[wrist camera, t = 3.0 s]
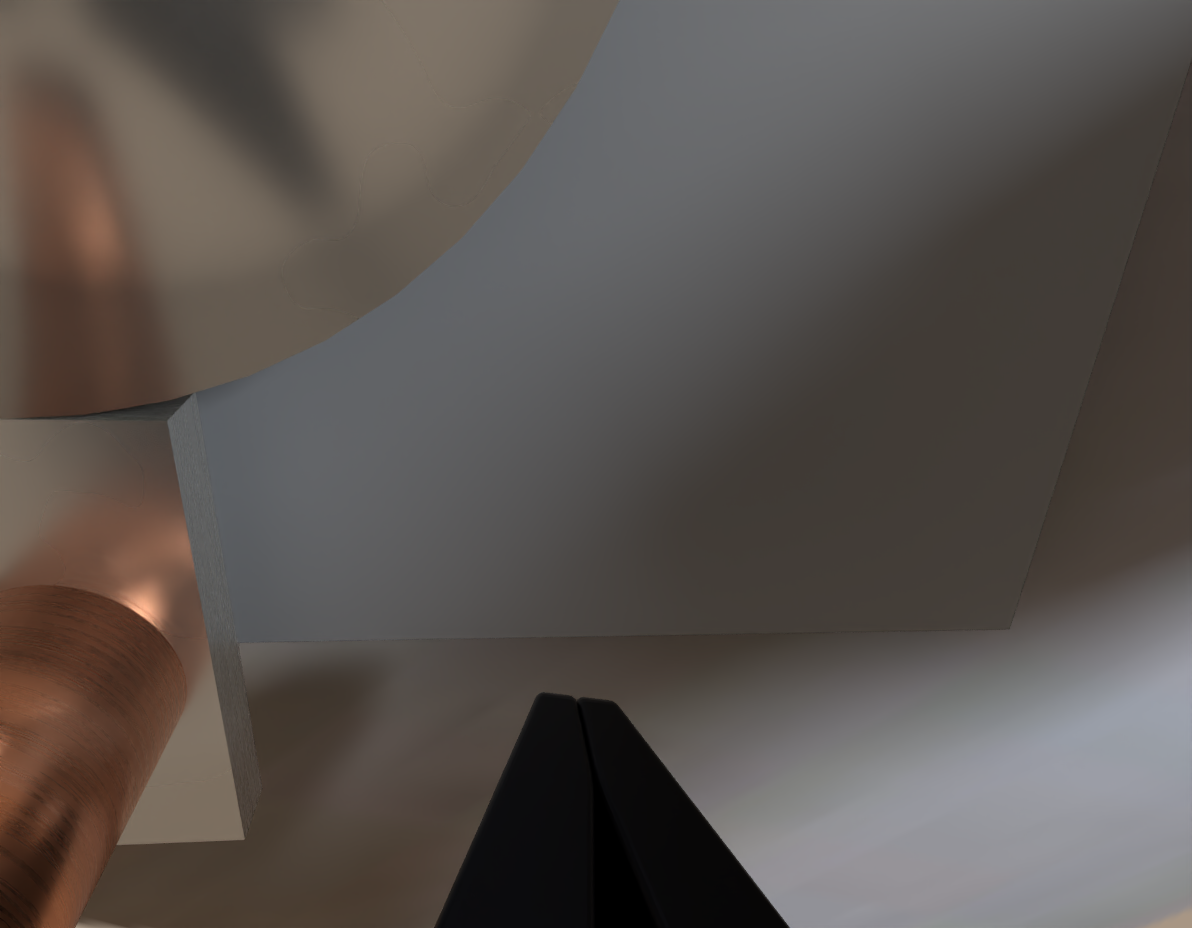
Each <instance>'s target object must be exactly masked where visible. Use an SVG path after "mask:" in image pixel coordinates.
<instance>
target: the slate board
mask: <svg viewBox="0 0 1192 928" xmlns="http://www.w3.org/2000/svg"><path fill="white" fill-rule="evenodd" d="M1191 61H1192V0H619V2H618V4H617V6H616V8H615V10H614V12H613V14H612V16H611V18H610V20H609V22H608V24H607V26H606V28H605V30H604V32H603V34H602V36H601V38H600V40H599V42H598V44H597V46H596V48H595V50H594V52H593V54H592V56H591V58H590V61H589V63H588V65H587V67H586V69H585V71H584V73H583V75H582V77H581V79H580V81H579V83H578V85H577V87H576V89H575V90H574V92H573V93H572V95H571V96H570V98H569V99H568V101H567V102H566V104H565V105H564V107H563V108H562V110H561V111H560V113H559V114H558V116H557V117H556V119H555V120H554V122H553V123H552V125H551V126H550V128H549V129H548V131H547V132H546V134H545V135H544V137H543V138H542V140H541V141H540V143H539V144H538V146H537V147H536V149H535V150H534V152H533V153H532V155H531V156H530V158H529V159H528V161H527V162H526V164H525V165H524V167H523V168H522V170H521V171H520V172H519V173H518V174H517V176H516V177H515V178H514V179H513V180H512V181H511V182H510V184H509V185H508V186H507V187H506V188H505V189H504V190H503V192H502V193H501V194H500V195H499V196H498V197H497V198H496V200H495V201H494V202H493V203H492V204H491V205H490V206H489V208H488V209H487V210H486V211H485V212H484V213H483V214H482V216H481V217H480V218H479V219H478V220H477V221H476V222H475V223H474V225H473V226H472V227H471V228H470V229H469V230H468V231H467V233H466V234H465V235H464V236H463V237H462V238H461V239H460V240H459V241H458V242H457V243H456V244H454V245H453V246H452V247H451V248H450V249H449V250H447V251H446V252H445V253H444V254H443V255H442V256H441V257H439V258H438V259H437V260H436V261H435V262H434V263H432V264H431V265H430V266H429V267H428V268H427V269H425V270H424V271H423V272H422V273H421V274H420V275H419V276H417V277H416V278H415V279H414V280H413V281H412V282H410V283H409V284H408V285H407V286H406V287H405V288H404V289H402V290H401V291H400V292H399V293H398V294H397V295H395V296H394V297H392V298H391V299H389V300H388V301H386V302H384V303H383V304H381V305H380V306H378V307H377V308H375V309H374V310H372V311H371V312H369V313H367V314H366V315H364V316H363V317H361V318H360V319H358V320H357V321H355V322H353V323H352V324H350V325H349V326H347V327H346V328H344V329H343V330H341V331H340V332H338V333H336V334H335V335H333V336H332V337H330V338H329V339H327V340H326V341H324V342H321V343H319V344H317V345H315V346H313V347H311V348H309V349H306V350H304V351H302V352H300V353H298V354H296V355H293V356H291V357H289V358H287V359H285V360H283V361H280V362H278V363H276V364H274V365H272V366H270V367H268V368H265V369H263V370H261V371H259V372H257V373H255V374H252V375H250V376H247V377H244V378H241V379H238V380H234V381H231V382H228V383H225V384H221V385H218V386H215V387H212V388H208V389H205V390H202V391H199V392H196V393H197V399H198V405H199V411H200V417H201V423H202V429H203V435H204V441H205V447H206V453H207V459H208V465H209V471H210V477H211V483H212V489H213V495H214V501H215V507H216V513H217V519H218V525H219V531H220V537H221V543H222V549H223V555H224V561H225V567H226V573H227V579H228V585H229V591H230V597H231V603H232V609H233V615H234V621H235V627H236V633H237V639H238V643H242V642H301V641H360V640H419V639H477V638H536V637H595V636H654V635H712V634H771V633H830V632H889V631H947V630H1006V629H1010V626H1011V623H1012V620H1013V617H1014V614H1015V611H1016V607H1017V604H1018V601H1019V598H1020V595H1021V592H1022V589H1023V586H1024V582H1025V579H1026V576H1027V573H1028V570H1029V567H1030V564H1031V561H1032V557H1033V554H1034V551H1035V548H1036V545H1037V542H1038V539H1039V536H1040V533H1041V529H1042V526H1043V523H1044V520H1045V517H1046V514H1047V511H1048V508H1049V504H1050V501H1051V498H1052V495H1053V492H1054V489H1055V486H1056V483H1057V479H1058V476H1059V473H1060V470H1061V467H1062V464H1063V461H1064V458H1065V454H1066V451H1067V448H1068V445H1069V442H1070V439H1071V436H1072V433H1073V429H1074V426H1075V423H1076V420H1077V417H1078V414H1079V411H1080V408H1081V404H1082V401H1083V398H1084V395H1085V392H1086V389H1087V386H1088V383H1089V379H1090V376H1091V373H1092V370H1093V367H1094V364H1095V361H1096V358H1097V354H1098V351H1099V348H1100V345H1101V342H1102V339H1103V336H1104V333H1105V329H1106V326H1107V323H1108V320H1109V317H1110V314H1111V311H1112V308H1113V304H1114V301H1115V298H1116V295H1117V292H1118V289H1119V286H1120V283H1121V279H1122V276H1123V273H1124V270H1125V267H1126V264H1127V261H1128V258H1129V254H1130V251H1131V248H1132V245H1133V242H1134V239H1135V236H1136V233H1137V230H1138V226H1139V223H1140V220H1141V217H1142V214H1143V211H1144V208H1145V205H1146V201H1147V198H1148V195H1149V192H1150V189H1151V186H1152V183H1153V180H1154V176H1155V173H1156V170H1157V167H1158V164H1159V161H1160V158H1161V155H1162V151H1163V148H1164V145H1165V142H1166V139H1167V136H1168V133H1169V130H1170V126H1171V123H1172V120H1173V117H1174V114H1175V111H1176V108H1177V105H1178V101H1179V98H1180V95H1181V92H1182V89H1183V86H1184V83H1185V80H1186V76H1187V73H1188V70H1189V67H1190V64H1191Z"/></svg>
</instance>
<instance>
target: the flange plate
mask: <svg viewBox="0 0 1192 928" xmlns="http://www.w3.org/2000/svg"><path fill="white" fill-rule="evenodd" d="M618 2H619V0H0V928H75V927H76V925H77V923H78V921H79V919H80V917H81V915H82V913H83V911H84V909H85V907H86V905H87V903H88V901H89V899H90V897H91V895H92V893H93V891H94V889H95V887H96V885H97V883H98V881H99V879H100V877H101V875H102V873H103V871H104V869H105V867H106V865H107V863H108V861H109V859H110V857H111V855H112V853H113V851H114V849H115V847H116V845H130V844H155V843H179V842H204V841H228V840H245V838H246V835H247V832H248V829H249V826H250V823H251V820H252V817H253V814H254V811H255V808H256V805H257V802H258V799H259V797H260V794H261V791H262V784H261V778H260V772H259V766H258V760H257V754H256V748H255V742H254V736H253V730H252V724H251V718H250V712H249V706H248V700H247V694H246V687H245V681H244V675H243V669H242V663H241V657H240V651H239V645H238V639H237V633H236V627H235V621H234V615H233V609H232V603H231V597H230V591H229V585H228V579H227V573H226V567H225V561H224V555H223V549H222V543H221V537H220V531H219V525H218V519H217V513H216V507H215V501H214V495H213V489H212V483H211V477H210V471H209V465H208V459H207V453H206V447H205V441H204V435H203V429H202V423H201V417H200V411H199V405H198V399H197V393H196V392H199V391H202V390H205V389H208V388H212V387H215V386H218V385H221V384H225V383H228V382H231V381H234V380H238V379H241V378H244V377H247V376H250V375H252V374H255V373H257V372H259V371H261V370H263V369H265V368H268V367H270V366H272V365H274V364H276V363H278V362H280V361H283V360H285V359H287V358H289V357H291V356H293V355H296V354H298V353H300V352H302V351H304V350H306V349H309V348H311V347H313V346H315V345H317V344H319V343H321V342H324V341H326V340H327V339H329V338H330V337H332V336H333V335H335V334H336V333H338V332H340V331H341V330H343V329H344V328H346V327H347V326H349V325H350V324H352V323H353V322H355V321H357V320H358V319H360V318H361V317H363V316H364V315H366V314H367V313H369V312H371V311H372V310H374V309H375V308H377V307H378V306H380V305H381V304H383V303H384V302H386V301H388V300H389V299H391V298H392V297H394V296H395V295H397V294H398V293H399V292H400V291H401V290H402V289H404V288H405V287H406V286H407V285H408V284H409V283H410V282H412V281H413V280H414V279H415V278H416V277H417V276H419V275H420V274H421V273H422V272H423V271H424V270H425V269H427V268H428V267H429V266H430V265H431V264H432V263H434V262H435V261H436V260H437V259H438V258H439V257H441V256H442V255H443V254H444V253H445V252H446V251H447V250H449V249H450V248H451V247H452V246H453V245H454V244H456V243H457V242H458V241H459V240H460V239H461V238H462V237H463V236H464V235H465V234H466V233H467V231H468V230H469V229H470V228H471V227H472V226H473V225H474V223H475V222H476V221H477V220H478V219H479V218H480V217H481V216H482V214H483V213H484V212H485V211H486V210H487V209H488V208H489V206H490V205H491V204H492V203H493V202H494V201H495V200H496V198H497V197H498V196H499V195H500V194H501V193H502V192H503V190H504V189H505V188H506V187H507V186H508V185H509V184H510V182H511V181H512V180H513V179H514V178H515V177H516V176H517V174H518V173H519V172H520V171H521V170H522V168H523V167H524V165H525V164H526V162H527V161H528V159H529V158H530V156H531V155H532V153H533V152H534V150H535V149H536V147H537V146H538V144H539V143H540V141H541V140H542V138H543V137H544V135H545V134H546V132H547V131H548V129H549V128H550V126H551V125H552V123H553V122H554V120H555V119H556V117H557V116H558V114H559V113H560V111H561V110H562V108H563V107H564V105H565V104H566V102H567V101H568V99H569V98H570V96H571V95H572V93H573V92H574V90H575V89H576V87H577V85H578V83H579V81H580V79H581V77H582V75H583V73H584V71H585V69H586V67H587V65H588V63H589V61H590V58H591V56H592V54H593V52H594V50H595V48H596V46H597V44H598V42H599V40H600V38H601V36H602V34H603V32H604V30H605V28H606V26H607V24H608V22H609V20H610V18H611V16H612V14H613V12H614V10H615V8H616V6H617V4H618Z"/></svg>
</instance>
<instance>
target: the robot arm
mask: <svg viewBox="0 0 1192 928" xmlns="http://www.w3.org/2000/svg"><path fill="white" fill-rule="evenodd" d="M434 928H790V927H789V926H788V925H787V923H786V922H785V921H784V919H783V918H782V917H781V916H780V914H779V913H778V912H777V910H776V909H775V908H774V907H773V905H772V904H771V903H770V901H769V900H768V899H767V897H766V896H765V895H764V894H763V892H762V891H761V890H760V888H759V887H758V886H757V885H756V883H755V882H754V881H753V879H752V878H751V877H750V875H749V874H748V873H747V872H746V870H745V869H744V868H743V866H742V865H741V864H740V863H739V861H738V860H737V859H736V857H735V856H734V855H733V853H732V852H731V851H730V850H729V848H728V847H727V846H726V844H725V843H724V842H723V841H722V839H721V838H720V837H719V835H718V834H717V833H716V831H715V830H714V829H713V828H712V826H711V825H710V824H709V822H708V821H707V820H706V819H705V817H704V816H703V815H702V813H701V812H700V811H699V809H698V808H697V807H696V806H695V804H694V803H693V802H692V800H691V799H690V798H689V797H688V795H687V794H686V793H685V791H684V790H683V789H682V787H681V786H680V785H679V784H678V782H677V781H676V780H675V778H674V777H673V776H672V775H671V773H670V772H669V771H668V769H667V768H666V767H665V765H664V764H663V763H662V762H661V760H660V759H659V758H658V756H657V755H656V754H655V753H654V751H653V750H652V749H651V747H650V746H649V745H648V743H647V742H646V741H645V740H644V738H643V737H642V736H641V734H640V733H639V732H638V731H637V729H636V728H635V727H634V725H633V724H632V723H631V721H630V720H629V719H628V718H627V716H626V715H625V714H624V712H623V711H622V710H621V709H620V707H619V706H618V705H617V704H616V703H614V702H613V701H609V700H602V699H594V698H586V697H581V698H580V699H578V700H577V701H576V699H574V698H573V697H572V696H569V695H561V694H553V693H545V692H542V693H539V694H538V695H537V697H536V699H535V701H534V703H533V705H532V707H531V710H530V712H529V714H528V716H527V719H526V721H525V723H524V726H523V728H522V730H521V732H520V735H519V737H518V739H517V741H516V744H515V746H514V748H513V750H512V753H511V755H510V757H509V759H508V762H507V764H506V766H505V769H504V771H503V773H502V775H501V778H500V780H499V782H498V784H497V787H496V789H495V791H494V793H493V796H492V798H491V800H490V803H489V805H488V807H487V809H486V812H485V814H484V816H483V818H482V821H481V823H480V825H479V827H478V830H477V832H476V834H475V836H474V839H473V841H472V843H471V846H470V848H469V850H468V852H467V855H466V857H465V859H464V861H463V864H462V866H461V868H460V870H459V873H458V875H457V877H456V880H455V882H454V884H453V886H452V889H451V891H450V893H449V895H448V898H447V900H446V902H445V904H444V907H443V909H442V911H441V913H440V916H439V918H438V920H437V923H436V925H435V927H434Z"/></svg>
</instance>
